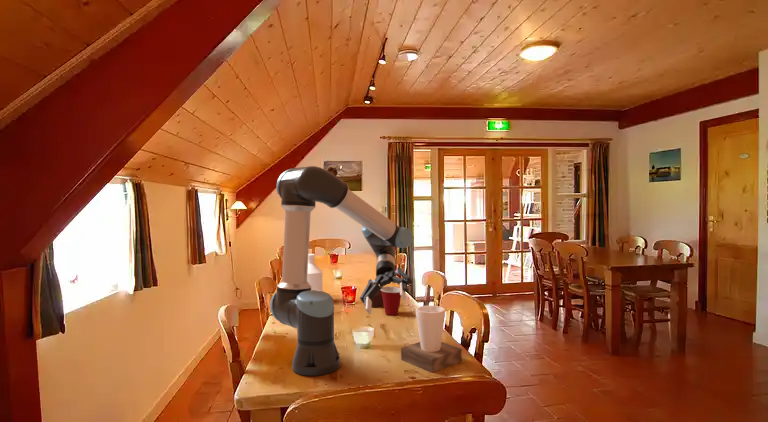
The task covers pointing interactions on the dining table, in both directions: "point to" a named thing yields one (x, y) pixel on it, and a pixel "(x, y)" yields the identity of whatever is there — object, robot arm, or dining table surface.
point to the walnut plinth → (431, 356)
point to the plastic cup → (391, 300)
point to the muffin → (377, 300)
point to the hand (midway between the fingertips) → (385, 304)
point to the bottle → (314, 274)
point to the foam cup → (430, 327)
